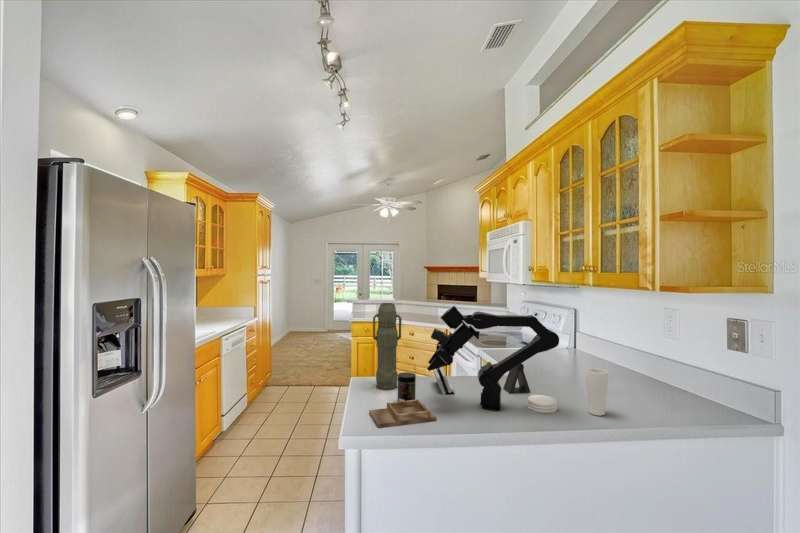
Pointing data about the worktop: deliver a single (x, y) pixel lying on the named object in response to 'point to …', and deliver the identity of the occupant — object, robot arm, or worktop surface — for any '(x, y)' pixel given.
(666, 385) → the worktop surface
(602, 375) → the drinking glass
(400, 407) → the board
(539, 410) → the coaster
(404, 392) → the supplement container
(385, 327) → the thermos
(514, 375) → the phone stand
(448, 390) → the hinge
